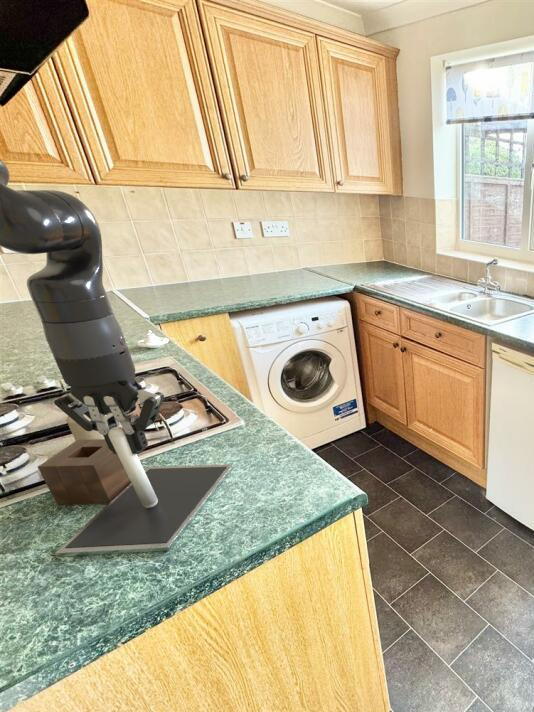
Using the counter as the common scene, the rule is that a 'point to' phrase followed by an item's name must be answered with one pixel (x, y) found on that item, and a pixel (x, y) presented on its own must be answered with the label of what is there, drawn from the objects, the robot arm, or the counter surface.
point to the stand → (85, 474)
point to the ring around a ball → (152, 341)
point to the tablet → (149, 513)
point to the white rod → (133, 467)
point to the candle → (82, 431)
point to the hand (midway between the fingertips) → (130, 450)
